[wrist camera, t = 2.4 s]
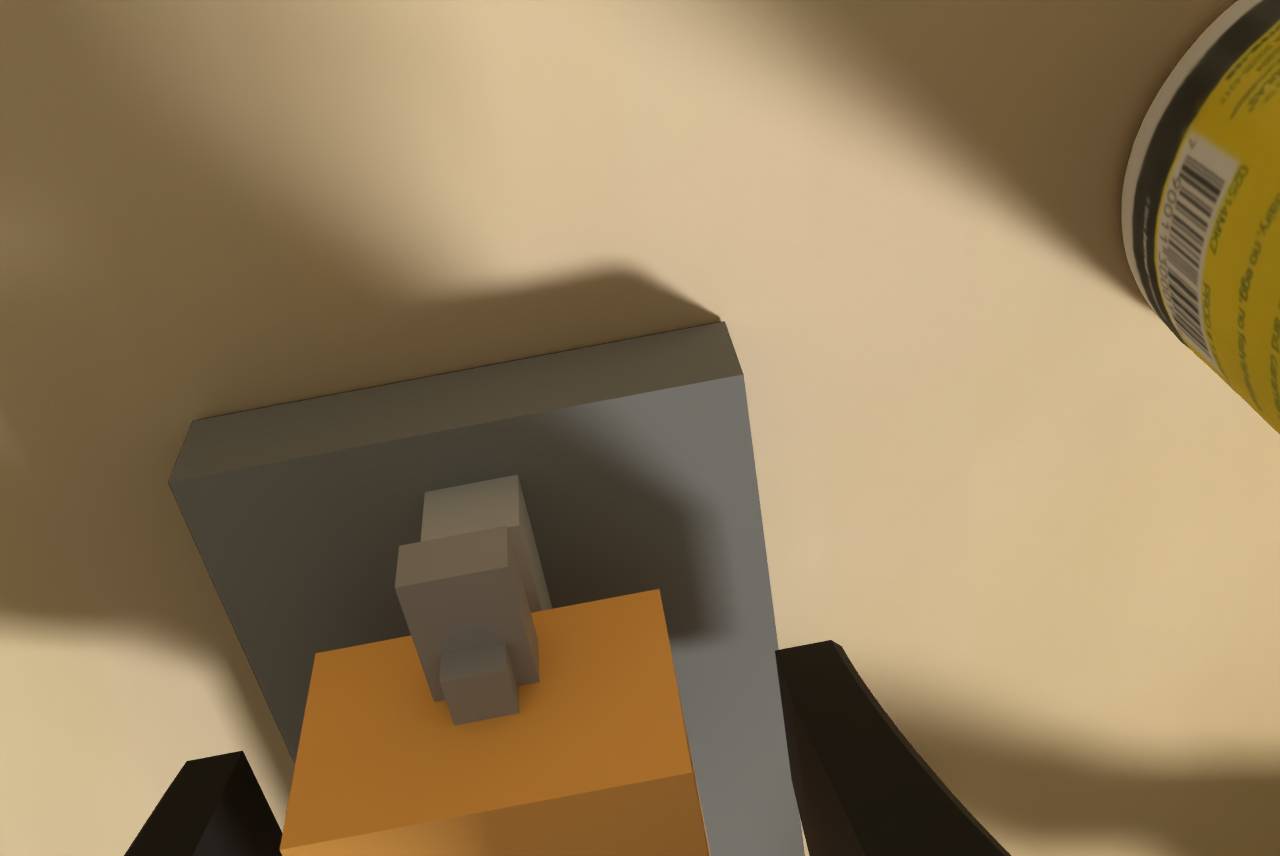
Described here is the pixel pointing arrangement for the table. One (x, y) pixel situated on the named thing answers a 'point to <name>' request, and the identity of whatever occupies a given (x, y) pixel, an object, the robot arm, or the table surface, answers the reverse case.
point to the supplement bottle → (1215, 202)
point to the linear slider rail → (518, 530)
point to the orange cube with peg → (496, 724)
